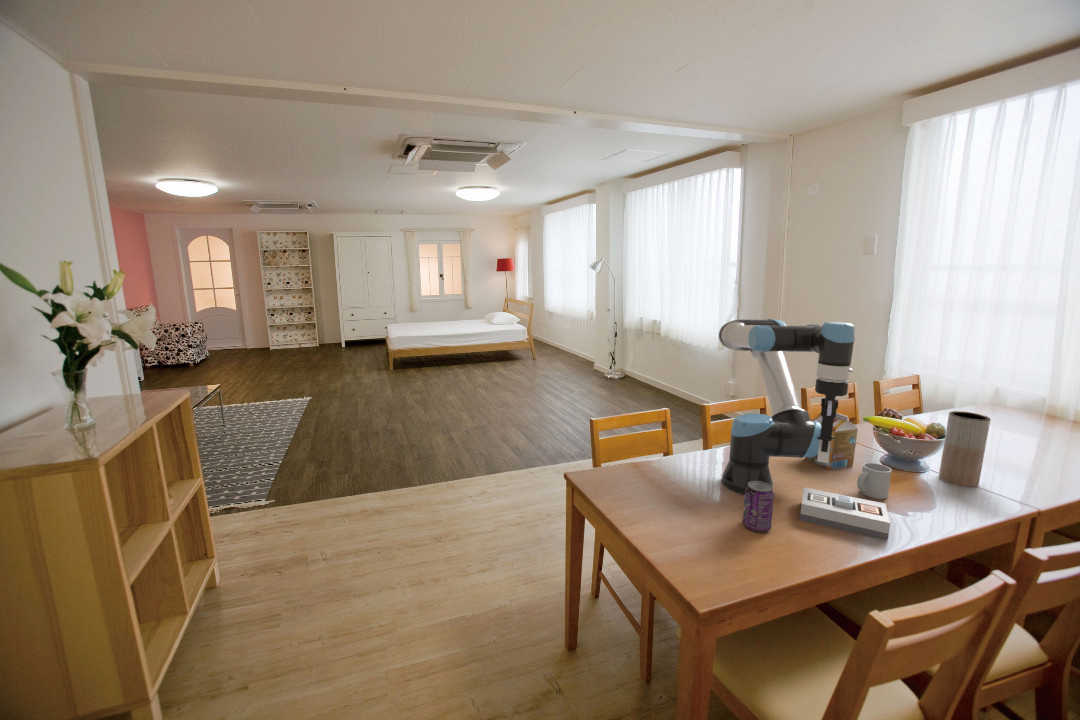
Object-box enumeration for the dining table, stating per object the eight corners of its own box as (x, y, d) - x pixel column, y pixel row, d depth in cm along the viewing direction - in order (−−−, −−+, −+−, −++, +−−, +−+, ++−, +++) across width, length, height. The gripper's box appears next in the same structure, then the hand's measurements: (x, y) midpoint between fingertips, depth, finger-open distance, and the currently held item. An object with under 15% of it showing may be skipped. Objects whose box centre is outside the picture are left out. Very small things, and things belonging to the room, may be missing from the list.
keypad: (799, 520, 132) (801, 503, 131) (801, 502, 142) (803, 487, 141) (887, 540, 122) (890, 523, 121) (883, 520, 132) (885, 503, 131)
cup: (893, 498, 145) (897, 471, 143) (866, 501, 143) (870, 473, 141) (872, 487, 152) (876, 461, 150) (846, 490, 150) (850, 464, 148)
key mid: (834, 509, 130) (835, 499, 130) (834, 503, 134) (835, 493, 133) (851, 513, 128) (853, 502, 128) (851, 507, 132) (852, 497, 131)
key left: (809, 509, 134) (810, 498, 133) (809, 503, 137) (810, 493, 137) (825, 512, 132) (826, 502, 131) (825, 506, 135) (826, 496, 134)
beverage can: (746, 517, 133) (750, 477, 131) (773, 525, 129) (777, 484, 127) (738, 527, 128) (742, 486, 126) (766, 536, 123) (771, 494, 121)
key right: (860, 520, 128) (861, 509, 127) (859, 514, 131) (860, 503, 130) (877, 524, 126) (879, 513, 125) (876, 517, 129) (878, 507, 128)
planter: (949, 485, 153) (960, 418, 149) (932, 473, 163) (942, 409, 158) (986, 489, 151) (998, 421, 147) (966, 476, 160) (977, 411, 156)
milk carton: (805, 458, 175) (810, 409, 172) (827, 455, 179) (832, 407, 175) (830, 469, 166) (836, 418, 162) (852, 466, 169) (859, 415, 165)
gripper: (849, 385, 120) (839, 472, 125) (847, 376, 131) (838, 456, 136) (815, 382, 124) (806, 466, 128) (816, 373, 135) (808, 451, 139)
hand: (822, 461), depth 132 cm, fingers closed
